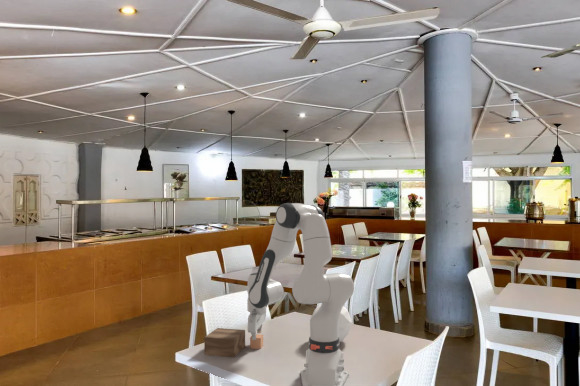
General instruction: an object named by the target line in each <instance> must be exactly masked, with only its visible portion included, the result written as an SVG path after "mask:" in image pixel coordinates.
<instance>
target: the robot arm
mask: <svg viewBox="0 0 580 386" xmlns="http://www.w3.org/2000/svg"><path fill="white" fill-rule="evenodd" d="M324 216H325V215H324V212H323V210H322V209H321V208H320V207H319V206H316V205H312V204H311V205H310V204H305V203H299V202H298V203H297V202H296V203H295V202H294V203H291V202H286V203H281V204H280V205H279V206H278V208H276V212H275V219H276V220H275V223H274V225H273V228H272V231H271V236H270V240H269V243H268V246H267V248H266V250H265V251H264V253H263V255H262V257H261V260H260V263H259V266H258V269H257V272H253V273H250V274H249V275H248V277H247V291H246V292H247V295H248V296H247V305H246V306H247V309H246V310H247V312H249V315H248V318H247V332H248V333H250V334H251V336H252V340H256V337H257V335H258V334H261V333H262V329H263V323H264V322H265V321H266V318H267V317H266V316H267V307H268V305H271V304H274V303H276V302H279V301H281V300H282V299H283V297H284V294H285V289H284V285H282V283H281V282H280V281H278V280H274V279H272V278H271V276H272V274H273V270H274V269H275V268H276V266H277V265H278V264H280V263H281V261H283V260H285V259H287V258H288V257H289V256H290V255H291V254H292V253H293V250H294V249H295V245H296V239H297V234H298V231H299V230H300V231H301V235H302V243H303V251H304V252H303V253H304V264H303V268H302V270H301V272H300V274H299V275H298V277H297V278H296V279H295V280H294V282H293V284H292V289H291V291H292V292H291V293H292V296H293V298H294V300H295V301H296V302H297V303H298V304H303V305H315V304H322V305H321V307H320V308H319V310H318V311H316V312H315V313H314V312H313V313H314V314H313V313H312V314H311V316H310V319H309V338H308V348H307V349H306V350H305V363H304V368H302V369H300V378H301V386H344V384H345V382H346V381H347V379H348V378H349V375H350V374H349V372H348V371H347V370H345V365H344V362H345V361H344V360H345V359H344V352H343V351H342V350H341V349H340V343H341V342H340V341H339V337H338V323H339V316H340V312H341V310H342V308H343V306H344V307H345V304H346V302H347V301H349V299H351V298H352V296H353V294H354V291H355V284H354V280H353V278H352V277H351V276H350V275H348V274H346V273H339V272H335V273H324V274H323V269H324V266H326V265H327V264H329V262H331V260H332V258H333V249H332V242H331V238H330V237H331V236H330V231H329V228H328V224H327V221H326V219H325V217H324ZM256 334H257V335H256Z"/></svg>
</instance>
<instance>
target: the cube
mask: <svg viewBox="0 0 580 386" xmlns="http://www.w3.org/2000/svg"><path fill="white" fill-rule="evenodd" d="M256 335H257V337H256V340H252V335H251V336H250V337H249V344H250V345H249V348H250V349H254V350H255V349H256V350H257V349H258V350H261V349H262V348H263V346H264V334H258V333H256Z"/></svg>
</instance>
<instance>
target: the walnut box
mask: <svg viewBox="0 0 580 386" xmlns="http://www.w3.org/2000/svg"><path fill="white" fill-rule="evenodd" d="M203 339H204V347H203V348H204V352H203V353H204V356H215V357H226V358H235V357H236V356H237V355H238V354H239V353H240V352H241V351H242V350H243V349H244V348H245V347H246V330H245V329H236V328H235V329H234V328H222V327H221V328H220V327H216V328H215V329H214V330H212V331H211V332H209V333H208V334H207V335H205V336H204V338H203Z"/></svg>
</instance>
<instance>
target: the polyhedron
mask: <svg viewBox="0 0 580 386" xmlns="http://www.w3.org/2000/svg"><path fill="white" fill-rule="evenodd" d="M321 305H322V303H319V305H318V306H317V307H316V308H314V310H313V313H312V315H313V314H314V313H315V312H316V311H318V310H319V308H320V307H321ZM352 324H353V321H352V318H351V315H350V313H349V311H348V309H347V308H346V307H345V305H344V306H343V308H342V310H341V312H340V316H339V323H338V337H339V341H340V343H341V342H343V341H345V339H346V337H347V336H348V335H349V333H350V330H351V327H352Z"/></svg>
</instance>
